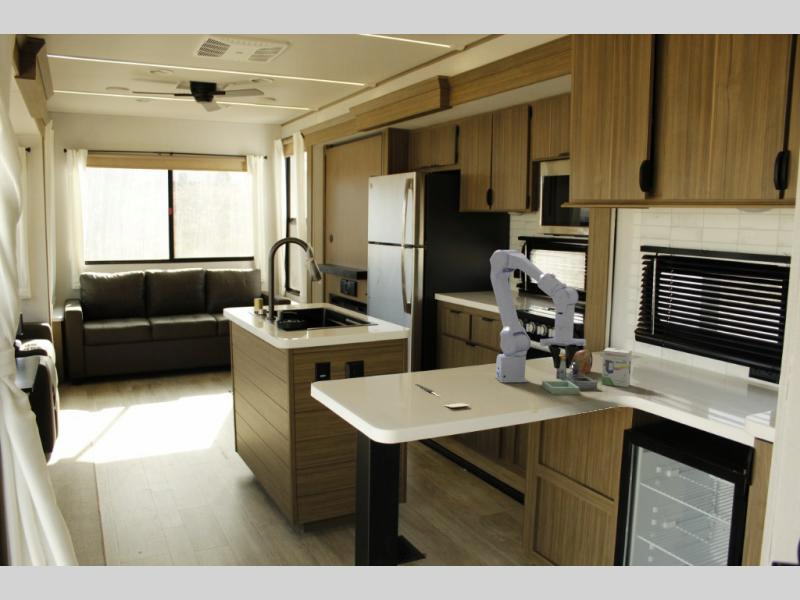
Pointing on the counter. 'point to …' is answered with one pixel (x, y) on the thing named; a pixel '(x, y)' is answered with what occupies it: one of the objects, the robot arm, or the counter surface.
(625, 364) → the ink box
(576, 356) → the tin
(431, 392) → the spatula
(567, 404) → the counter surface
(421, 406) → the counter surface
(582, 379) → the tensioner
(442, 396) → the counter surface
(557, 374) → the pin
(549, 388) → the tray
